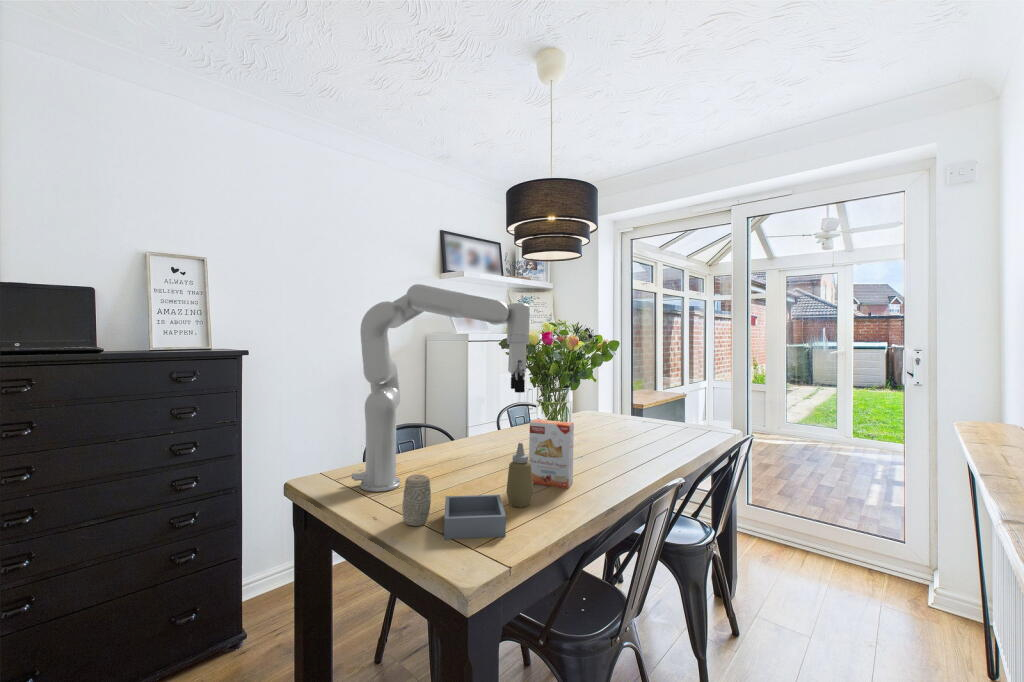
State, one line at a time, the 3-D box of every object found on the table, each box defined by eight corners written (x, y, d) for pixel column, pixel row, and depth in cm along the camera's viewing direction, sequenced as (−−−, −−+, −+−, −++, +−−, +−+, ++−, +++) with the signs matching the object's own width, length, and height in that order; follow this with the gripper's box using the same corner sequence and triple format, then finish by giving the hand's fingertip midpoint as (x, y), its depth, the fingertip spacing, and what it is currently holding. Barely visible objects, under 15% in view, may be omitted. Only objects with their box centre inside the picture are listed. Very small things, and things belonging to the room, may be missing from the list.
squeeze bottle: (524, 511, 125) (525, 448, 124) (500, 505, 129) (501, 444, 129) (538, 502, 131) (539, 442, 131) (515, 497, 136) (516, 438, 136)
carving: (425, 529, 113) (425, 482, 113) (397, 526, 114) (398, 479, 114) (434, 519, 119) (434, 474, 119) (408, 516, 120) (408, 472, 120)
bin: (444, 539, 107) (444, 518, 107) (445, 514, 122) (445, 496, 122) (505, 536, 109) (505, 516, 109) (499, 512, 124) (499, 494, 124)
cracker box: (528, 483, 149) (528, 421, 148) (533, 478, 154) (534, 418, 154) (568, 489, 143) (569, 425, 143) (573, 483, 149) (574, 421, 149)
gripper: (504, 339, 157) (503, 387, 158) (510, 340, 140) (509, 393, 140) (524, 339, 158) (524, 387, 159) (533, 340, 141) (532, 393, 141)
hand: (517, 390), depth 150 cm, fingers open, 9 cm apart
